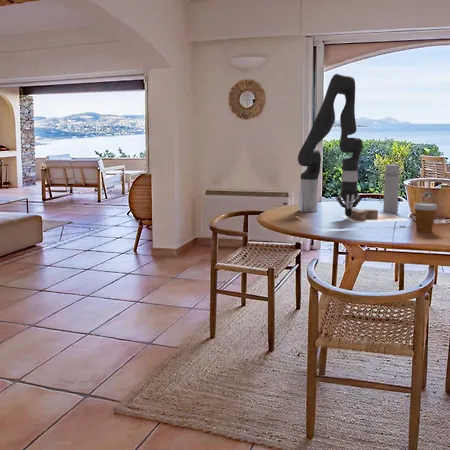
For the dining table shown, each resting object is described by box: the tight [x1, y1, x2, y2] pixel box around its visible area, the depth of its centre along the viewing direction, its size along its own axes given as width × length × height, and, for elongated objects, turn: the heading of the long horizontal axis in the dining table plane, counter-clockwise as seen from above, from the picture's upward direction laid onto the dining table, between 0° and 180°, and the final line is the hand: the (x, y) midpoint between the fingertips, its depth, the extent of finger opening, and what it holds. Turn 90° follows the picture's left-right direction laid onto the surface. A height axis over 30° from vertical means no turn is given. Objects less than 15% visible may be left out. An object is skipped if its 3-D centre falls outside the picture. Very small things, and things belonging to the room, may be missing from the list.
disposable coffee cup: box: [413, 202, 438, 234], centre depth 239 cm, size 10×10×12 cm
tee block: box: [348, 207, 379, 221], centre depth 265 cm, size 12×12×4 cm
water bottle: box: [379, 164, 401, 214], centre depth 287 cm, size 9×8×25 cm
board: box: [338, 213, 411, 224], centre depth 266 cm, size 28×20×1 cm
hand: (348, 216), depth 263 cm, fingers closed
